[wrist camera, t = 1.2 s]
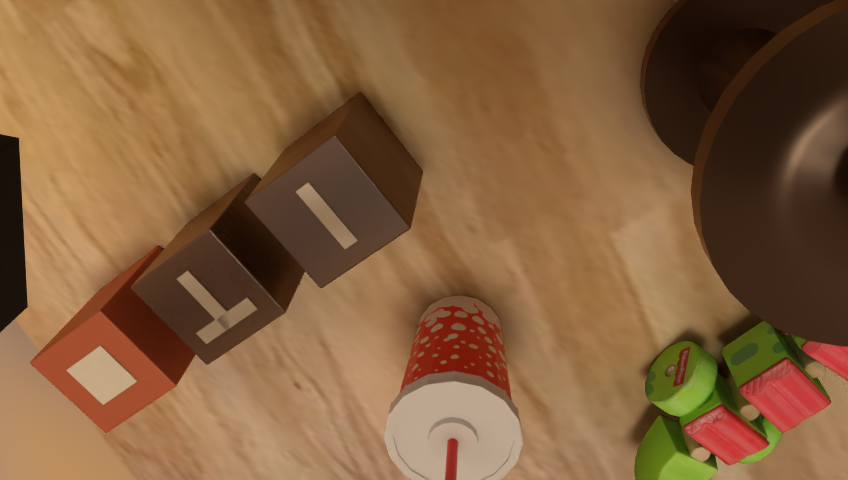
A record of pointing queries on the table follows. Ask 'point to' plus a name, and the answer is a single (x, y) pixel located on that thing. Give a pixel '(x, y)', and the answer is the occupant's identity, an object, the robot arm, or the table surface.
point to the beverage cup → (455, 398)
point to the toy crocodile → (731, 401)
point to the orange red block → (115, 353)
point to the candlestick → (762, 149)
